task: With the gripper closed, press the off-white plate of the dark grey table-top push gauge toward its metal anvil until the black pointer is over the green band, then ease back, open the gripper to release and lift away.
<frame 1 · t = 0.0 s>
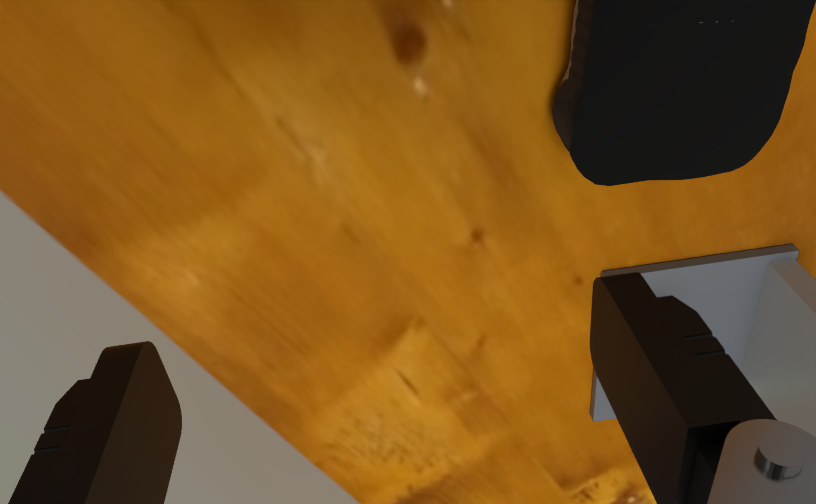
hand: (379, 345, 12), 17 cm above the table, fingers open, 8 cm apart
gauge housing: (682, 336, 37), on the table
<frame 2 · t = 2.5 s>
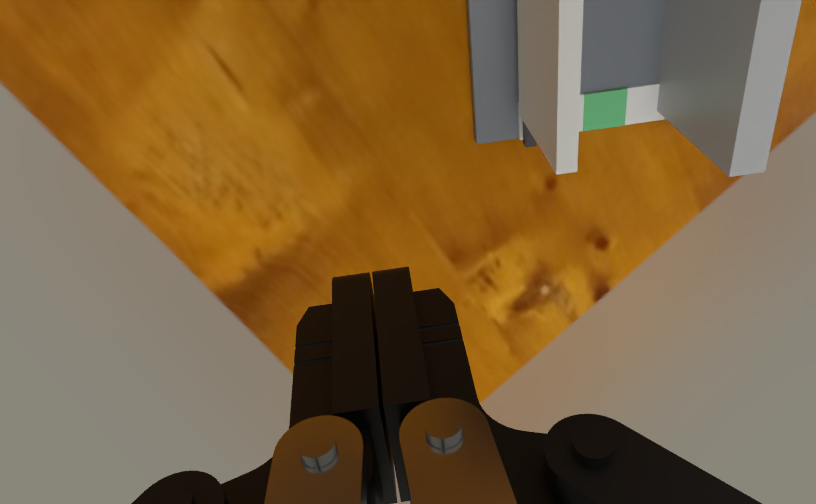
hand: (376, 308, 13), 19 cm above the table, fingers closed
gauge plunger: (546, 61, 26), point 4 cm above the table, slide at 0.8 cm
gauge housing: (581, 6, 29), on the table
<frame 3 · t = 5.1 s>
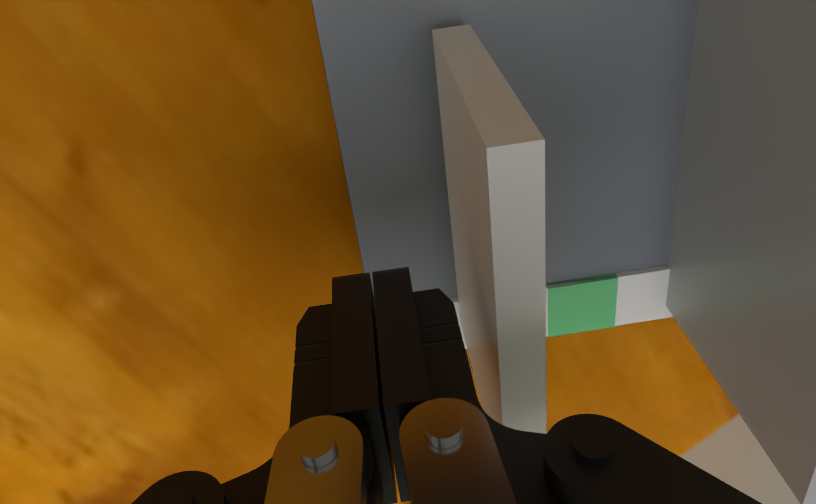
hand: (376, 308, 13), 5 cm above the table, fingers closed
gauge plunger: (489, 288, 14), point 4 cm above the table, slide at 1.3 cm, touching gripper
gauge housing: (539, 156, 17), on the table
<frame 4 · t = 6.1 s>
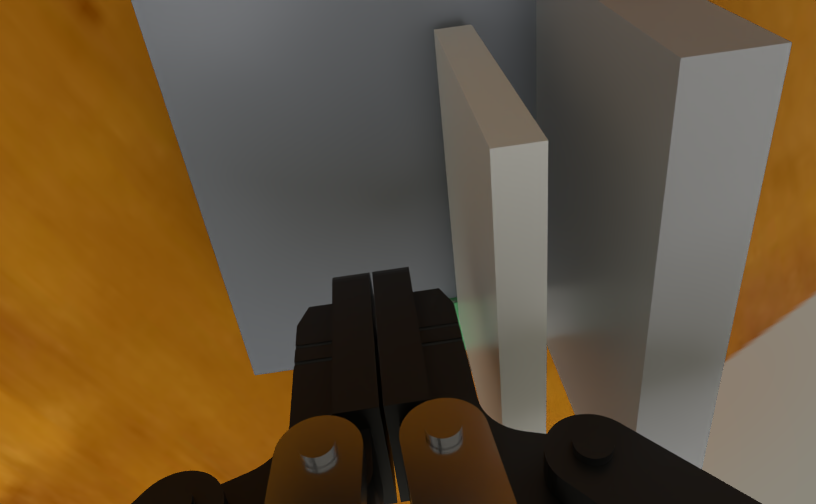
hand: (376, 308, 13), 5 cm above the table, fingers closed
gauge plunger: (489, 289, 14), point 4 cm above the table, slide at 5.0 cm, touching gripper
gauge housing: (397, 177, 17), on the table
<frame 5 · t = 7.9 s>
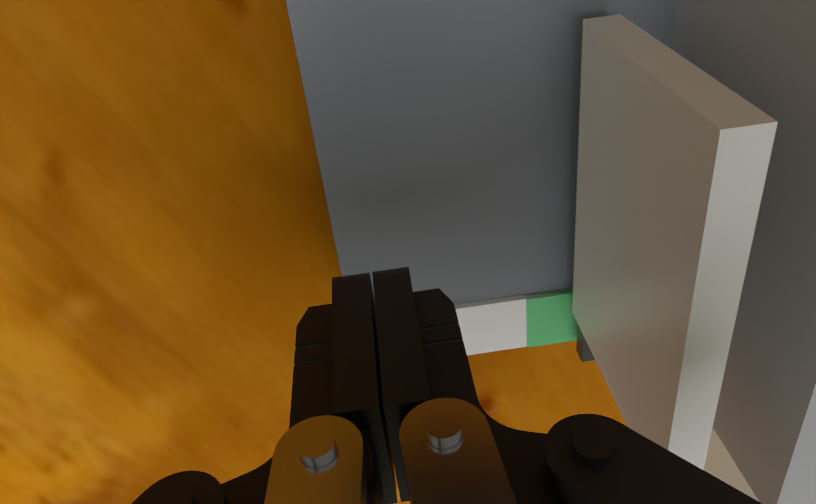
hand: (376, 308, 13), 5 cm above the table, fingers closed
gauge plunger: (637, 276, 14), point 4 cm above the table, slide at 5.1 cm
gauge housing: (517, 168, 17), on the table
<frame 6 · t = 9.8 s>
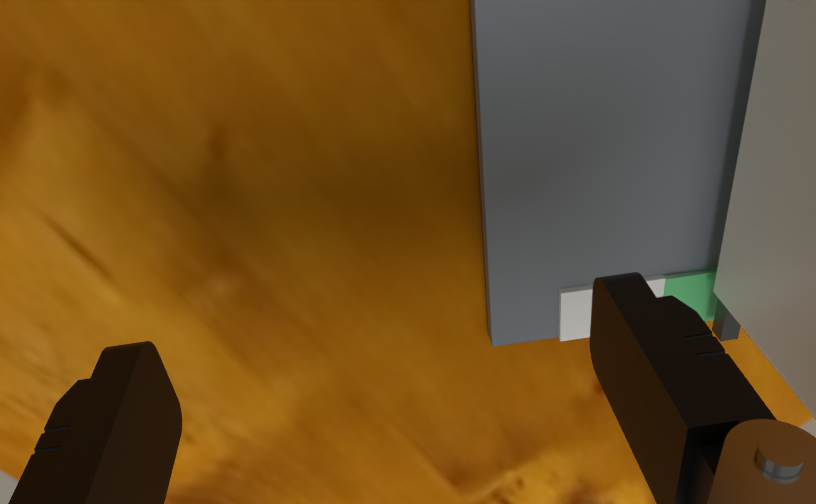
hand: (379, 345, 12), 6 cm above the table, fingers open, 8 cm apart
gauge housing: (667, 147, 17), on the table
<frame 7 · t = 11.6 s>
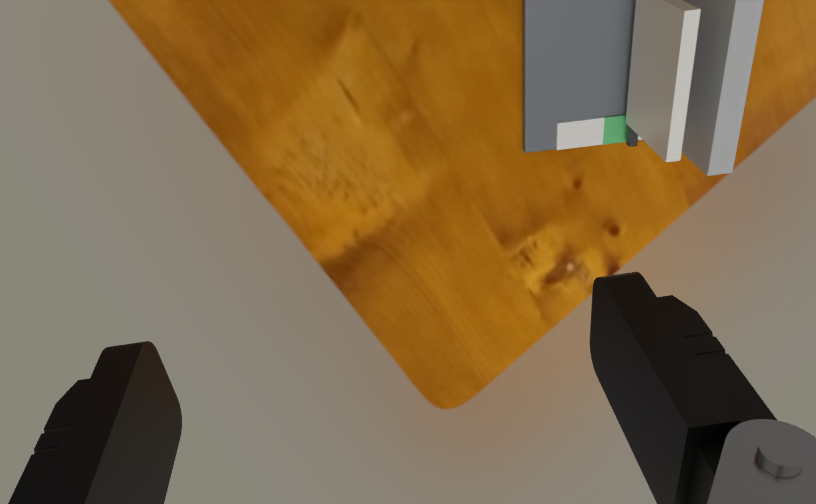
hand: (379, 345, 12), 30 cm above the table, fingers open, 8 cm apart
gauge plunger: (657, 85, 37), point 4 cm above the table, slide at 5.1 cm
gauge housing: (604, 55, 40), on the table
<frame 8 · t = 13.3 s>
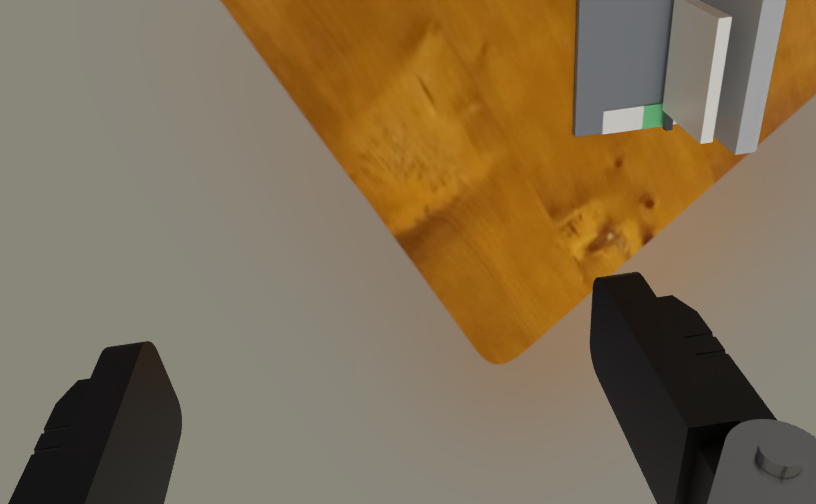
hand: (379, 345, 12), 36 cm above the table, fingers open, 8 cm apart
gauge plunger: (692, 78, 44), point 4 cm above the table, slide at 5.1 cm
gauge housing: (644, 52, 47), on the table
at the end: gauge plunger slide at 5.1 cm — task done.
